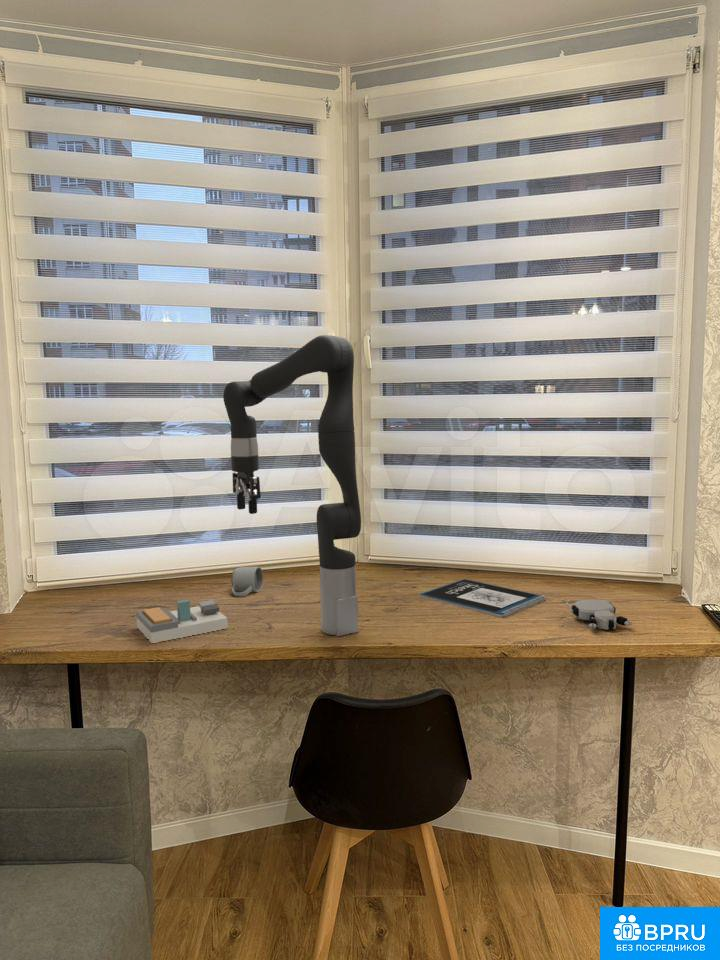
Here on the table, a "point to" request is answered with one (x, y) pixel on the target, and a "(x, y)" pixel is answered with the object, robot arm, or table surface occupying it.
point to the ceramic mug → (246, 580)
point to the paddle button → (156, 615)
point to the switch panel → (181, 625)
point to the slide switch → (183, 610)
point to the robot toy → (598, 613)
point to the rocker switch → (208, 607)
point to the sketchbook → (484, 597)
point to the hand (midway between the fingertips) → (247, 511)
